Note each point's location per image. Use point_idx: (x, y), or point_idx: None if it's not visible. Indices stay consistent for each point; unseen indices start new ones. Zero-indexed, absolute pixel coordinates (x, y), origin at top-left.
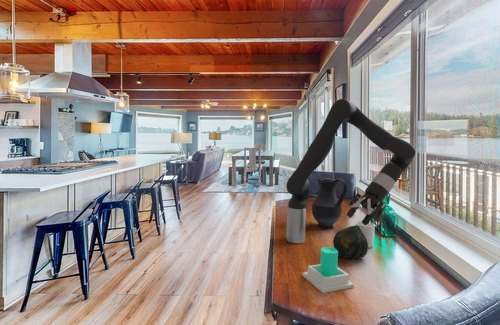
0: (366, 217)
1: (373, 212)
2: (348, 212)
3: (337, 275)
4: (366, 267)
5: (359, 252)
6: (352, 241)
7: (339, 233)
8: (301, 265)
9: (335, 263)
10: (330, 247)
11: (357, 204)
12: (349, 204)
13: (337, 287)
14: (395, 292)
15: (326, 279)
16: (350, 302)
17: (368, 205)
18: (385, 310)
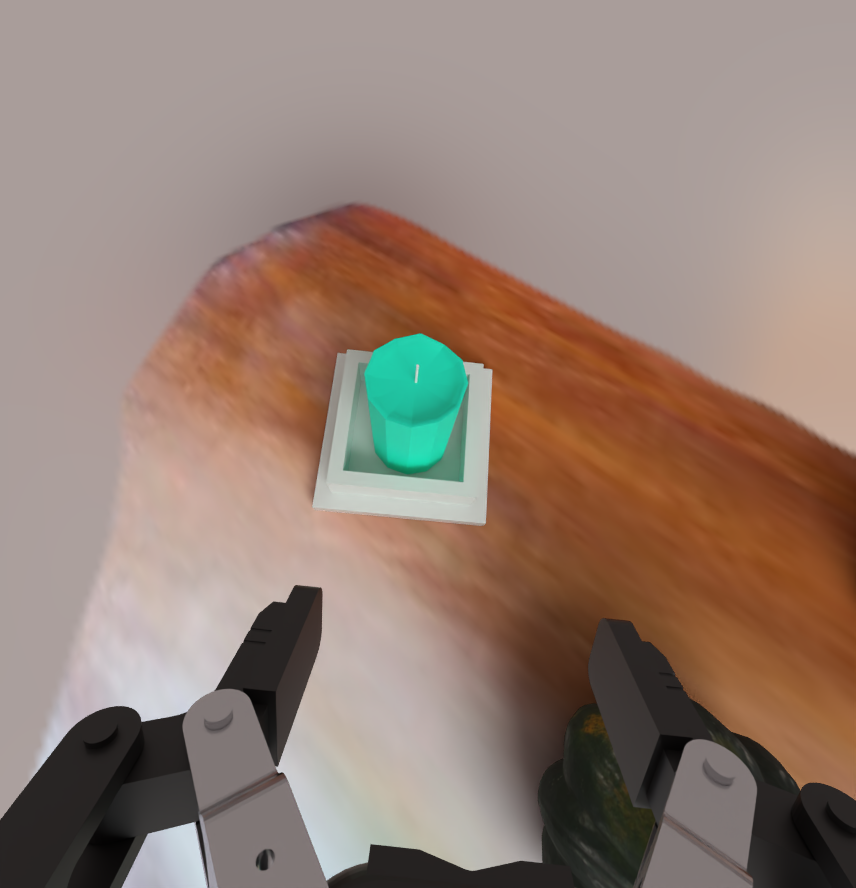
0: (266, 647)
1: (118, 746)
2: (637, 646)
3: (346, 424)
4: (453, 773)
5: (539, 805)
6: (600, 784)
7: (749, 769)
8: (580, 430)
9: (369, 411)
10: (447, 409)
11: (655, 842)
12: (825, 786)
13: (327, 420)
14: (183, 673)
15: (345, 361)
16: (238, 408)
17: (288, 867)
18: (125, 491)
